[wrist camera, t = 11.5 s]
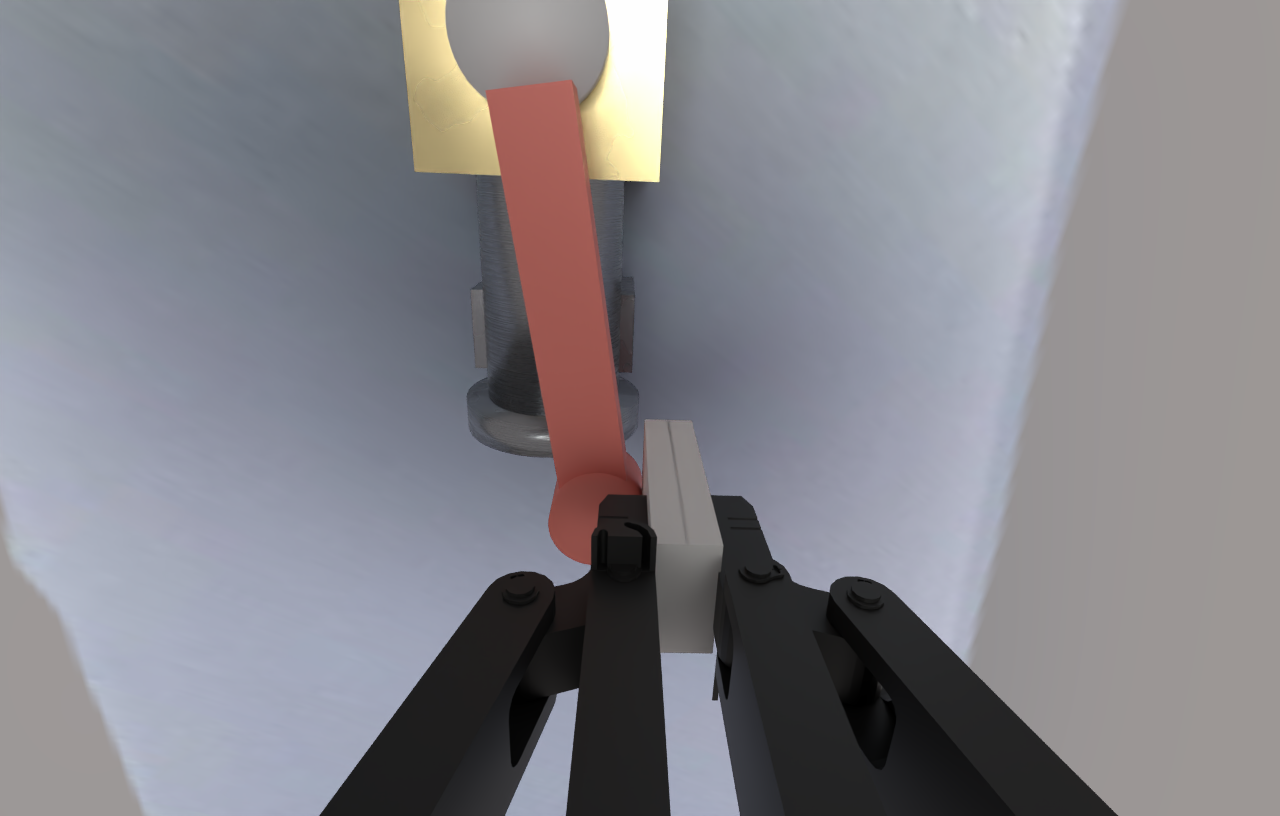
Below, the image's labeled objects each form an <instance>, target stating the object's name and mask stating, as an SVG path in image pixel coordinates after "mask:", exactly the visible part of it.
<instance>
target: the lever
mask: <svg viewBox="0 0 1280 816" xmlns="http://www.w3.org/2000/svg"><path fill="white" fill-rule="evenodd" d="M445 20H446V30H447V36H448V40H449V44H450V48H451V50H452V53H453V56H454V58H455V60H456V62H457V64H458V66H459V68H460V70H461V72H462V73H463V75H464V76H465V78H466V79H467V81H468V82H469V83H470V84H471V85H472V86H473V88H474V89H475V90H476V91H477V92H478V93H479V94H481V95H482V96H483V97H484V98H485V99H487V102H488V108H489V113H490V119H491V124H492V129H493V135H494V140H495V146H496V151H497V156H498V162H499V167H500V173H501V178H502V183H503V189H504V194H505V200H506V205H507V210H508V216H509V221H510V227H511V232H512V237H513V243H514V248H515V253H516V259H517V264H518V270H519V275H520V280H521V286H522V291H523V297H524V302H525V307H526V313H527V318H528V324H529V329H530V334H531V340H532V345H533V351H534V356H535V361H536V367H537V372H538V378H539V383H540V388H541V394H542V399H543V405H544V410H545V415H546V421H547V426H548V431H549V437H550V442H551V448H552V453H553V458H554V464H555V469H556V475H557V482H556V487H555V491H554V496H553V501H552V505H551V510H550V515H549V522H548V526H549V532H550V536H551V538H552V540H553V542H554V544H555V545H556V546H557V548H558V549H559V550H560V551H561V552H562V553H563V554H565V555H566V556H567V557H569V558H571V559H573V560H575V561H577V562H580V563H584V564H589V565H591V535H592V533H593V531H594V529H595V528H596V527H597V522H598V511H599V504H600V503H601V502H602V501H603V500H604V498H605V497H606V496H607V495H608V494H617V495H642V475H641V471H640V468H639V466H638V464H637V463H636V461H635V460H634V459H633V458H632V457H631V456H630V455H629V454H628V453H627V452H626V448H625V441H624V434H623V426H622V419H621V411H620V404H619V396H618V389H617V381H616V374H615V367H614V359H613V352H612V344H611V337H610V329H609V322H608V314H607V307H606V300H605V292H604V285H603V277H602V270H601V262H600V255H599V247H598V240H597V233H596V225H595V218H594V210H593V203H592V195H591V188H590V180H589V173H588V166H587V158H586V151H585V143H584V136H583V128H582V121H581V114H580V106H579V104H580V103H581V102H582V101H583V100H584V99H585V98H586V97H587V96H588V95H589V94H590V93H591V92H592V90H593V89H594V88H595V86H596V84H597V83H598V81H599V79H600V77H601V75H602V73H603V70H604V67H605V64H606V61H607V56H608V51H609V39H610V33H609V19H608V12H607V6H606V1H605V0H446V8H445Z"/></svg>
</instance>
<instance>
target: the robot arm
mask: <svg viewBox="0 0 1280 816" xmlns="http://www.w3.org/2000/svg"><path fill="white" fill-rule="evenodd" d="M714 637H715V642H716V647H717V658H716V668H715V677H714V687H713V697H712V700H718V693H719V697H720V702H721V708H722V714H723V720H724V725H725V731H726V737H727V743H728V748H729V754H730V760H731V766H732V771H733V777H734V783H735V789H736V794H737V800H738V806H739V812H740V816H1118V815H1117V814H1116V813H1115V812H1114V811H1113V810H1112V809H1111V808H1109V806H1108V805H1107V804H1106V803H1105V802H1104V801H1102V799H1101V798H1100V797H1099V796H1098V795H1097V794H1095V792H1094V791H1093V790H1092V789H1091V788H1090V787H1089V786H1087V785H1086V783H1084V782H1083V780H1081V779H1080V778H1079V776H1077V775H1076V773H1075V772H1073V771H1072V770H1071V769H1070V768H1069V767H1068V766H1067V765H1066V764H1065V763H1064V762H1063V761H1062V760H1061V759H1060V758H1059V757H1058V756H1057V755H1056V754H1055V753H1054V752H1053V751H1052V750H1051V749H1050V748H1049V747H1048V746H1047V745H1046V744H1045V743H1044V742H1043V741H1042V740H1041V739H1040V738H1039V737H1038V736H1037V735H1036V734H1035V733H1034V732H1033V731H1032V730H1031V729H1030V728H1029V727H1028V726H1027V725H1026V724H1025V723H1024V722H1023V721H1022V720H1021V719H1020V718H1019V717H1018V716H1017V715H1016V714H1015V713H1014V712H1013V711H1012V710H1011V709H1010V708H1009V707H1008V706H1007V705H1006V704H1005V703H1004V702H1003V701H1002V700H1001V699H1000V698H999V697H998V696H997V695H996V694H995V693H994V692H993V691H992V690H991V689H990V688H989V687H988V686H987V685H986V684H985V683H984V682H983V681H982V680H981V679H980V678H979V677H978V676H977V675H976V674H975V673H974V672H973V671H972V670H971V669H970V668H969V667H968V666H967V665H966V664H965V663H964V662H963V661H962V660H961V659H960V658H959V657H958V656H957V655H956V654H955V653H954V652H953V651H952V650H951V649H950V648H949V647H948V646H947V645H946V644H945V643H944V642H943V641H942V640H941V639H940V638H939V637H938V636H937V635H936V634H935V633H934V632H933V631H932V630H931V629H930V628H929V627H928V626H927V625H926V624H925V623H924V622H923V621H922V620H921V619H920V618H919V617H918V616H917V615H916V614H915V613H914V612H913V611H912V610H911V609H910V608H909V607H908V606H907V605H906V604H905V603H904V602H903V601H902V600H901V599H900V598H899V597H898V596H897V595H896V594H895V593H894V592H892V591H891V590H890V589H888V588H887V587H886V586H884V585H882V584H880V583H878V582H876V581H873V580H871V579H867V578H863V577H843V578H840V579H837V580H836V581H835V582H834V583H833V584H832V585H831V587H830V593H829V592H825V591H821V590H816V589H812V588H808V587H805V586H802V585H799V584H797V583H795V582H793V581H792V579H791V577H790V574H789V573H788V571H787V570H786V569H785V567H784V566H783V565H781V564H780V563H778V562H777V561H775V560H773V559H772V556H771V554H770V551H769V548H768V545H767V543H766V540H765V537H764V535H763V532H762V530H761V527H760V524H759V521H758V520H757V516H756V513H755V511H754V508H753V506H752V505H751V504H749V503H748V502H747V501H746V500H745V499H744V498H743V497H742V496H717V495H710V491H709V487H708V483H707V479H706V475H705V471H704V467H703V463H702V459H701V455H700V452H699V448H698V444H697V440H696V436H695V432H694V428H693V424H692V421H687V420H651V419H645V424H644V448H643V471H642V495H617V494H608V495H607V496H606V497H605V498H604V500H603V501H602V502H601V503H600V504H599V511H598V522H597V527H596V528H595V529H594V531H593V533H592V535H591V570H590V571H589V572H588V573H587V574H586V575H585V576H584V577H582V578H581V579H579V580H577V581H575V582H572V583H568V584H565V585H560V586H555V587H554V585H553V582H552V581H551V580H550V579H548V578H547V577H546V576H545V575H542V574H539V573H536V572H524V571H520V572H515V573H510V574H507V575H505V576H502V577H500V578H498V579H497V580H495V581H494V582H493V583H492V584H491V585H490V586H489V587H488V588H487V590H486V591H485V592H484V594H483V595H482V597H481V598H480V599H479V601H478V602H477V603H476V605H475V606H474V607H473V609H472V610H471V611H470V613H469V614H468V615H467V617H466V618H465V620H464V621H463V622H462V624H461V625H460V626H459V628H458V629H457V630H456V632H455V633H454V634H453V636H452V637H451V638H450V640H449V641H448V642H447V644H446V645H445V647H444V648H443V649H442V651H441V652H440V653H439V655H438V656H437V657H436V659H435V660H434V661H433V663H432V664H431V665H430V667H429V668H428V670H427V671H426V672H425V674H424V675H423V676H422V678H421V679H420V680H419V682H418V683H417V684H416V686H415V687H414V688H413V690H412V691H411V692H410V694H409V695H408V697H407V698H406V699H405V701H404V702H403V703H402V705H401V706H400V707H399V709H398V710H397V711H396V713H395V714H394V715H393V717H392V718H391V720H390V721H389V722H388V724H387V725H386V726H385V728H384V729H383V730H382V732H381V733H380V734H379V736H378V737H377V738H376V740H375V741H374V742H373V744H372V745H371V747H370V748H369V749H368V751H367V752H366V753H365V755H364V756H363V757H362V759H361V760H360V761H359V763H358V764H357V765H356V767H355V768H354V770H353V771H352V772H351V774H350V775H349V776H348V778H347V779H346V780H345V782H344V783H343V784H342V786H341V787H340V788H339V790H338V791H337V792H336V794H335V795H334V797H333V798H332V799H331V801H330V802H329V803H328V805H327V806H326V807H325V809H324V810H323V811H322V813H321V814H320V815H319V816H505V814H506V812H507V809H508V807H509V805H510V803H511V800H512V798H513V796H514V794H515V791H516V789H517V787H518V785H519V782H520V780H521V778H522V776H523V773H524V771H525V769H526V767H527V765H528V762H529V760H530V758H531V756H532V753H533V751H534V749H535V747H536V744H537V742H538V740H539V738H540V735H541V733H542V731H543V729H544V726H545V724H546V722H547V720H548V718H549V715H550V713H551V711H552V709H553V706H554V704H555V700H556V695H557V694H558V693H561V692H565V691H569V690H573V689H577V688H579V692H578V702H577V712H576V722H575V732H574V742H573V751H572V761H571V771H570V781H569V791H568V801H567V811H566V816H671V815H670V799H669V783H668V767H667V751H666V735H665V719H664V703H663V687H662V671H661V655H660V653H713V643H714Z"/></svg>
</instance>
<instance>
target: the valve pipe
mask: <svg viewBox="0 0 1280 816" xmlns="http://www.w3.org/2000/svg"><path fill="white" fill-rule="evenodd" d="M605 1H606V6H607V12H608V19H609V33H610V39H609V51H608V56H607V61H606V64H605V67H604V70H603V73H602V75H601V77H600V79H599V81H598V83H597V84H596V86H595V88H594V89H593V90H592V92H591V93H590V94H589V95H588V96H587V97H586V98H585V99H584V100H583V101H582V102H581V103H580V104H579V106H580V114H581V121H582V128H583V136H584V143H585V151H586V158H587V166H588V173H589V180H590V188H591V195H592V203H593V210H594V218H595V225H596V233H597V240H598V247H599V255H600V262H601V270H602V277H603V285H604V292H605V300H606V307H607V314H608V322H609V329H610V337H611V344H612V352H613V359H614V367H615V374H616V381H617V389H618V396H619V404H620V411H621V419H622V426H623V434H624V441H625V440H627V439H628V438H629V437H630V436H632V434H633V433H634V432H635V430H636V428H637V423H638V400H639V394H638V390H637V389H636V387H635V386H634V385H633V384H632V383H630V382H629V381H627V380H625V379H624V378H622V377H619V372H630V373H632V356H633V329H634V302H635V293H634V281H633V277H622V248H623V213H624V181H645V182H659V173H660V152H661V132H662V111H663V90H664V69H665V49H666V28H667V7H668V0H605ZM399 7H400V18H401V28H402V39H403V50H404V61H405V72H406V83H407V93H408V104H409V115H410V126H411V137H412V147H413V158H414V169H415V172H431V173H455V174H476V183H477V201H478V218H479V236H480V253H481V271H482V281H481V282H479V283H478V284H477V285H476V286H474V287H473V288H472V289H471V305H472V320H473V336H474V351H475V367H476V368H487V375H488V377H487V378H485V379H482V380H481V381H479V382H477V383H476V384H475V385H473V386H472V387H471V388H470V389H469V391H468V393H467V407H468V421H469V429H470V432H471V434H472V435H473V436H474V437H475V438H476V439H477V440H478V441H479V442H481V443H482V444H484V445H486V446H488V447H490V448H493V449H496V450H499V451H502V452H506V453H510V454H515V455H521V456H530V457H553V453H552V448H551V442H550V437H549V431H548V426H547V421H546V415H545V410H544V405H543V399H542V394H541V388H540V383H539V378H538V372H537V367H536V361H535V356H534V351H533V345H532V340H531V334H530V329H529V324H528V318H527V313H526V307H525V302H524V297H523V291H522V286H521V280H520V275H519V270H518V264H517V259H516V253H515V248H514V243H513V237H512V232H511V227H510V221H509V216H508V210H507V205H506V200H505V194H504V189H503V183H502V178H501V173H500V167H499V162H498V156H497V151H496V146H495V140H494V135H493V129H492V124H491V119H490V113H489V108H488V102H487V99H485V98H484V97H483V96H482V95H481V94H479V93H478V92H477V91H476V90H475V89H474V88H473V86H472V85H471V84H470V83H469V82H468V81H467V79H466V78H465V76H464V75H463V73H462V72H461V70H460V68H459V66H458V64H457V62H456V60H455V58H454V56H453V53H452V50H451V48H450V44H449V40H448V36H447V30H446V20H445V8H446V0H399Z"/></svg>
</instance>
